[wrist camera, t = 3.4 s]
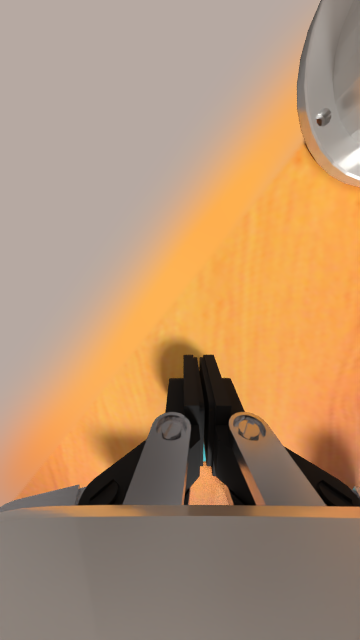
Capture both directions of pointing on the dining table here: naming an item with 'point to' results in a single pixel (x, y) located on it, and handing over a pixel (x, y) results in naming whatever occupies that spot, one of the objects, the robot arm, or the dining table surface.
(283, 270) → the dining table surface
